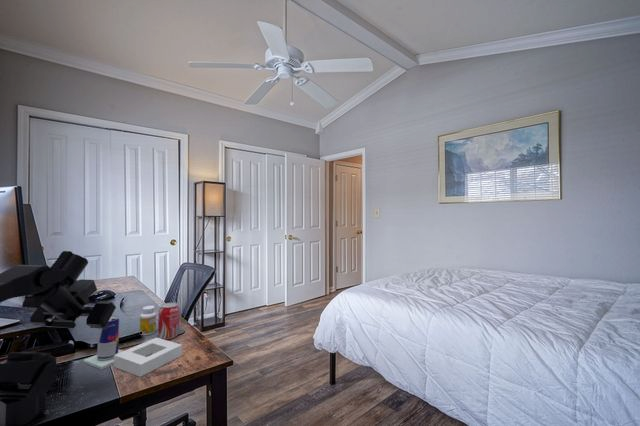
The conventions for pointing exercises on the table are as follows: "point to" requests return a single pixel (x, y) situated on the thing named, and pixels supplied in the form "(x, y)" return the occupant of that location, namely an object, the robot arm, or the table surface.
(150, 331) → the supplement bottle
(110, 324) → the energy drink
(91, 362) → the pad
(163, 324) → the soda can
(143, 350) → the well board
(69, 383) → the table surface
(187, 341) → the table surface
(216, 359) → the table surface
